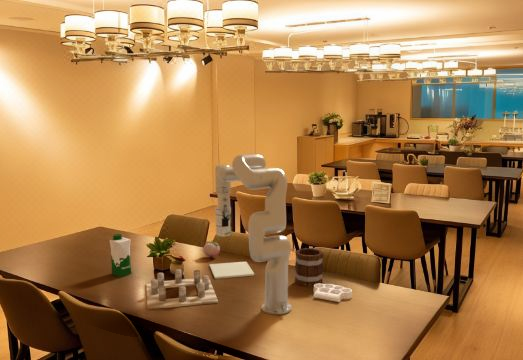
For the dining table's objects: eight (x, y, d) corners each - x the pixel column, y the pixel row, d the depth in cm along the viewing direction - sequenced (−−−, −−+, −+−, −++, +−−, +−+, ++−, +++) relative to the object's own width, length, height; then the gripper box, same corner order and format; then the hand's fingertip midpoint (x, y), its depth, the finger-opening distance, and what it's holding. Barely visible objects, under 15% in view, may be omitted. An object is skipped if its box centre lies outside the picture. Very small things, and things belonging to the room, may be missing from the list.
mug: (321, 288, 233) (322, 257, 231) (292, 285, 236) (293, 255, 233) (324, 274, 252) (325, 245, 250) (298, 272, 255) (298, 244, 252)
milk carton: (123, 269, 258) (121, 232, 255) (134, 273, 252) (132, 235, 249) (108, 274, 251) (107, 236, 248) (120, 278, 245) (118, 239, 242)
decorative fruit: (200, 259, 276) (200, 241, 274) (206, 254, 283) (206, 238, 282) (216, 260, 273) (216, 243, 271) (221, 256, 281) (221, 239, 279)
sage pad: (254, 275, 249) (254, 273, 249) (214, 278, 245) (214, 276, 245) (246, 263, 269) (246, 261, 269) (209, 266, 264) (209, 264, 264)
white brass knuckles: (306, 298, 222) (318, 287, 235) (345, 305, 214) (355, 294, 227) (306, 290, 221) (318, 280, 234) (345, 298, 213) (355, 287, 226)
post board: (218, 302, 215) (217, 287, 214) (147, 309, 208) (146, 293, 207) (208, 279, 244) (208, 265, 243) (146, 284, 237) (145, 270, 236)
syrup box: (224, 237, 245) (224, 208, 242) (215, 235, 248) (214, 206, 246) (231, 234, 249) (231, 206, 247) (222, 232, 253) (222, 204, 250)
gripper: (234, 192, 238) (234, 228, 241) (227, 186, 255) (227, 220, 257) (218, 193, 236) (219, 229, 239) (212, 187, 253) (213, 220, 255)
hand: (223, 224), depth 248 cm, fingers closed on syrup box, 7 cm apart
